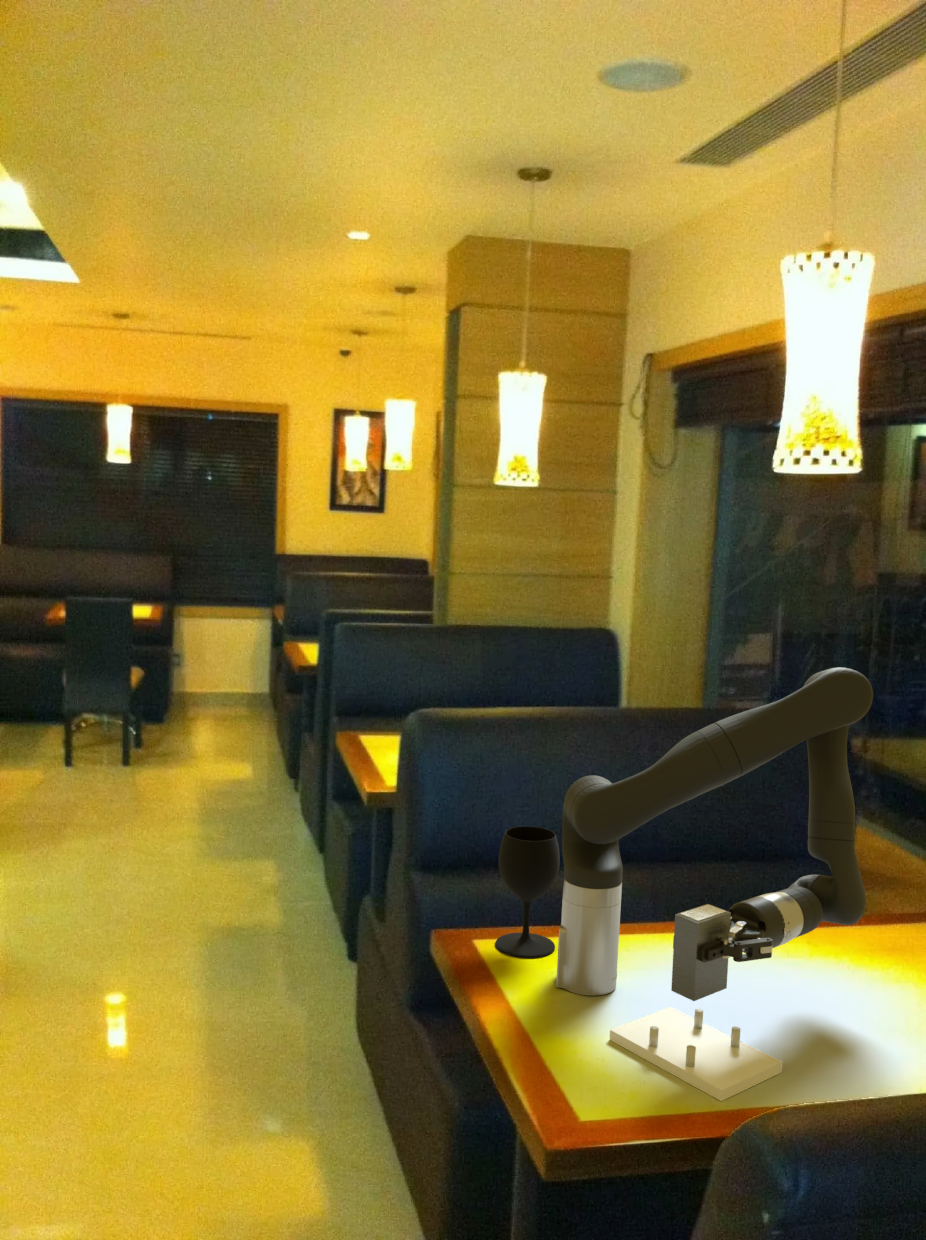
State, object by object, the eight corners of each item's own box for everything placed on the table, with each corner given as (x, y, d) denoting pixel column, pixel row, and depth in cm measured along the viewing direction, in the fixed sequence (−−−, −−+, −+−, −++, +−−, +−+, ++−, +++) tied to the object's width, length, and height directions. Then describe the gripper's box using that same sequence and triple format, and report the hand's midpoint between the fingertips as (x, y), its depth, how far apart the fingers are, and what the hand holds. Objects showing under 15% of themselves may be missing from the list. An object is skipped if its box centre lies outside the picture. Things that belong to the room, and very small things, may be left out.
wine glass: (511, 962, 187) (516, 845, 184) (485, 938, 196) (489, 827, 194) (566, 954, 191) (572, 839, 189) (538, 931, 200) (543, 822, 198)
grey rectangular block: (671, 990, 156) (675, 913, 154) (704, 978, 160) (708, 902, 159) (693, 1001, 152) (698, 922, 151) (726, 988, 157) (730, 911, 156)
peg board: (609, 1039, 161) (610, 1013, 160) (669, 1016, 169) (671, 991, 168) (721, 1101, 145) (723, 1072, 145) (781, 1072, 153) (783, 1044, 153)
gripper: (727, 883, 169) (650, 907, 159) (808, 912, 158) (731, 939, 148) (724, 931, 170) (647, 958, 160) (805, 963, 159) (728, 994, 149)
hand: (688, 949), depth 154 cm, fingers closed on grey rectangular block, 4 cm apart
